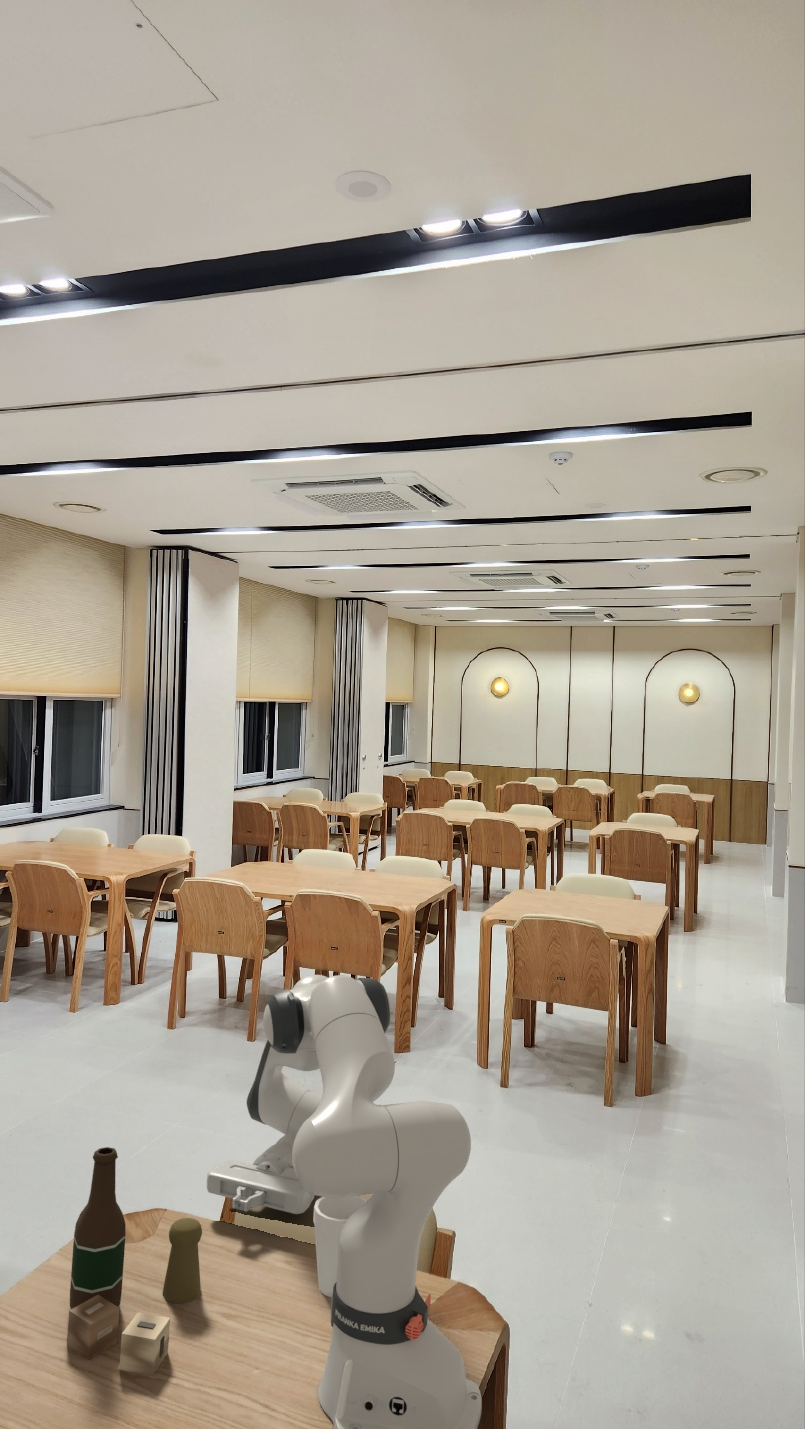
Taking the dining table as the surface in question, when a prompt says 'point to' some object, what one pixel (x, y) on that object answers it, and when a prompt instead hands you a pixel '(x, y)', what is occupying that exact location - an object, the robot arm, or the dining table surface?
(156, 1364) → the beech cube marked
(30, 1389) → the dining table surface
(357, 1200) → the foam cup
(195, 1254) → the cork
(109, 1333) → the walnut cube marked
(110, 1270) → the beer bottle
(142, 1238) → the dining table surface
